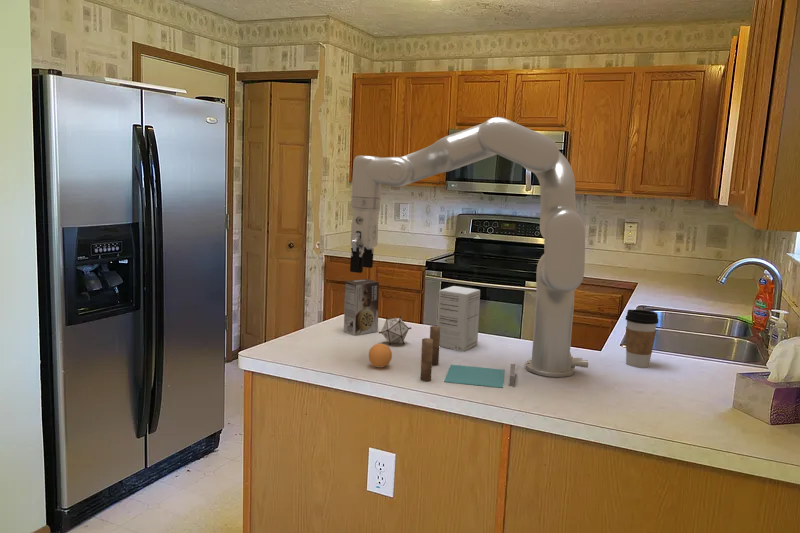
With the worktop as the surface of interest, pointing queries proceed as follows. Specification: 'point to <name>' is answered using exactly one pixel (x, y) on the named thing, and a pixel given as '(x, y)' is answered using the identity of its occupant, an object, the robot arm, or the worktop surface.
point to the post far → (435, 344)
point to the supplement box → (458, 317)
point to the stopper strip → (512, 375)
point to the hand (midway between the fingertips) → (361, 269)
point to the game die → (395, 330)
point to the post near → (426, 359)
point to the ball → (380, 355)
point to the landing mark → (475, 376)
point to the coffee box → (361, 306)
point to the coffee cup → (640, 337)
